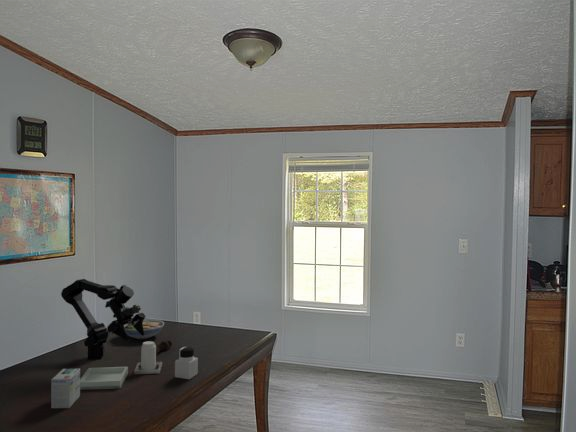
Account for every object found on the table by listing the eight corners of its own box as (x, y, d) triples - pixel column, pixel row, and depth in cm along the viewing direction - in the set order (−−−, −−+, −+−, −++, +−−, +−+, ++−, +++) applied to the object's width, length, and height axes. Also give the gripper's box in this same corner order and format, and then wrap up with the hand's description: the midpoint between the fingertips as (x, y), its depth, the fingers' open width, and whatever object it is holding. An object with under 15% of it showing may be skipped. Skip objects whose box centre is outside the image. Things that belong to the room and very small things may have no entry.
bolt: (170, 351, 238) (153, 359, 224) (163, 345, 239) (145, 352, 225) (175, 341, 237) (158, 349, 223) (168, 335, 239) (151, 343, 224)
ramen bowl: (157, 345, 241) (157, 329, 241) (113, 344, 242) (113, 328, 241) (169, 331, 266) (170, 317, 266) (130, 330, 267) (130, 316, 266)
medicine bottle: (197, 374, 202) (198, 346, 202) (189, 379, 195) (189, 351, 195) (183, 371, 204) (183, 344, 204) (174, 377, 197) (174, 349, 197)
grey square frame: (133, 374, 200) (133, 370, 200) (138, 365, 210) (138, 362, 210) (159, 373, 202) (159, 370, 202) (162, 365, 212) (162, 361, 212)
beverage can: (140, 372, 202) (141, 345, 202) (141, 367, 208) (141, 341, 208) (155, 371, 204) (156, 344, 204) (155, 366, 210) (156, 340, 209)
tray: (77, 389, 183) (77, 382, 183) (88, 374, 198) (88, 367, 198) (120, 388, 185) (120, 380, 185) (127, 373, 201) (128, 366, 201)
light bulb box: (62, 396, 177) (62, 368, 176) (80, 396, 177) (80, 367, 177) (50, 408, 166) (50, 378, 166) (70, 408, 167) (70, 378, 166)
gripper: (113, 303, 202) (131, 332, 198) (143, 295, 219) (160, 323, 215) (99, 317, 206) (116, 347, 202) (130, 309, 223) (146, 336, 219)
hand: (136, 337), depth 209 cm, fingers open, 9 cm apart
